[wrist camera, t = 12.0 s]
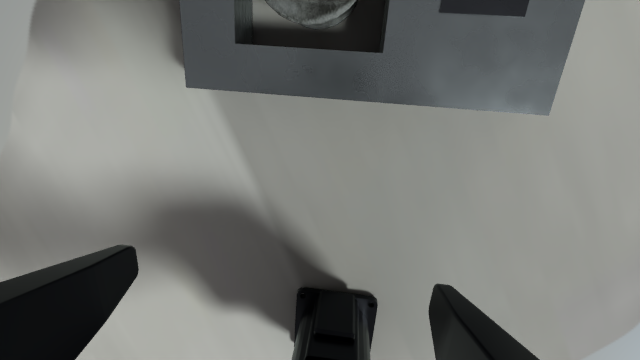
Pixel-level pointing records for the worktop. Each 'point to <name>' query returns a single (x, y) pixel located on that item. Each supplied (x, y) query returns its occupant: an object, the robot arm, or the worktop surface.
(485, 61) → the grey flat block
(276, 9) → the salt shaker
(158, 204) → the worktop surface
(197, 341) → the worktop surface
